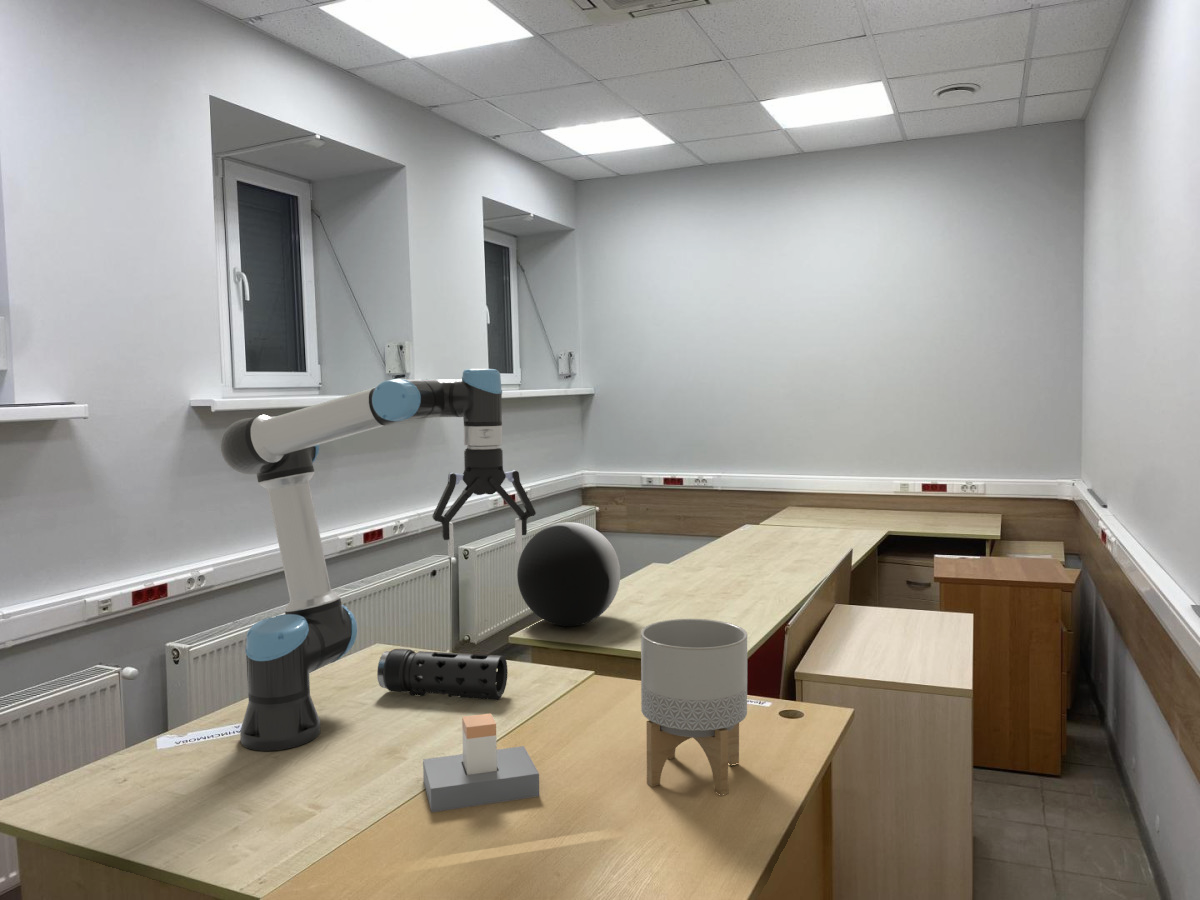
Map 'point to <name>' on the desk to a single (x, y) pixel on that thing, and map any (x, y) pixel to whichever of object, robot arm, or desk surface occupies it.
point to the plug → (479, 744)
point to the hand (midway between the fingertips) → (485, 554)
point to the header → (479, 781)
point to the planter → (693, 692)
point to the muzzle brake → (443, 673)
